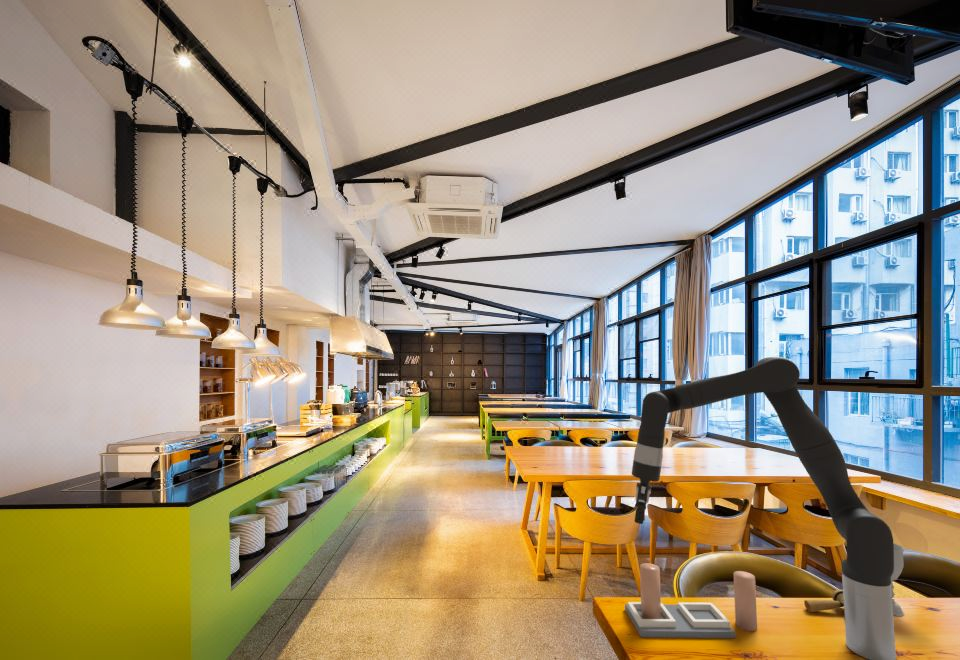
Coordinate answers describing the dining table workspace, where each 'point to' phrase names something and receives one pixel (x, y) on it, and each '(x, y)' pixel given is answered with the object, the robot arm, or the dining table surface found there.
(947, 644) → the dining table surface
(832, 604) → the kendama
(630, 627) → the dining table surface
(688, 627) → the grey peg holder
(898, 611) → the chalice
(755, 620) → the post
